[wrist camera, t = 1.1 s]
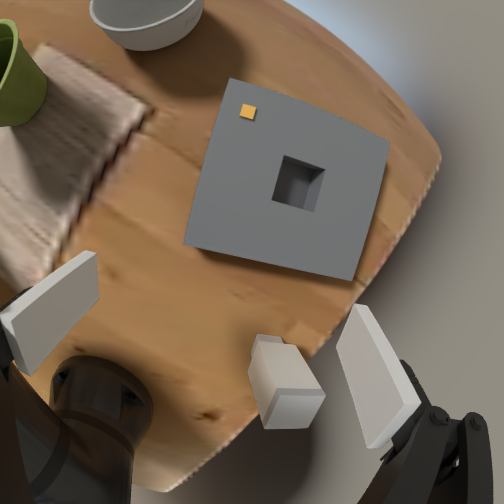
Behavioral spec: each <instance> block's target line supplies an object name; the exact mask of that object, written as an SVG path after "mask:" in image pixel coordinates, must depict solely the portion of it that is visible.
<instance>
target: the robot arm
mask: <svg viewBox="0 0 504 504" xmlns="http://www.w3.org/2000/svg"><path fill="white" fill-rule="evenodd" d="M98 300H99V291H98V274H97V253H94V252H90V251H86V250H85V251H83V252H82V253H80V254H79V255H77V256H76V257H74V258H73V259H71V260H70V261H68V262H67V263H66V264H64V265H63V266H61V267H60V268H58V269H57V270H55V271H54V272H53V273H51V274H50V275H48V276H47V277H46V278H44V279H43V280H42V281H40V282H39V283H38V284H36V285H35V286H32V287H30V288H27V289H25V290H23V291H22V292H20V293H19V294H18V295H17V297H16V296H15V297H14V298H13V299H11V301H9V302H7V303H6V304H5V305H4V306H2V307H1V308H0V504H130V501H131V500H130V499H131V484H132V470H133V459H134V452H135V450H136V448H137V447H138V445H139V444H140V442H141V440H142V439H143V437H144V436H145V434H146V433H147V431H148V429H149V427H150V425H151V422H152V414H153V403H152V400H151V397H150V395H149V393H148V391H147V390H146V388H145V387H144V386H143V385H142V383H141V382H140V381H139V380H138V379H137V378H136V377H134V376H133V375H132V374H131V373H129V372H128V371H126V370H125V369H123V368H122V367H120V366H118V365H116V364H114V363H112V362H110V361H107V360H104V359H101V358H97V357H92V356H75V357H71V358H68V359H66V360H65V361H63V362H62V363H61V364H60V365H59V367H58V368H57V370H56V372H55V373H54V375H53V377H52V380H51V386H50V399H49V406H48V405H47V404H46V403H45V402H44V400H43V399H42V398H41V397H40V396H39V395H38V394H37V392H36V391H35V390H34V389H33V388H32V387H31V385H30V384H29V383H28V382H27V380H26V379H25V378H24V377H23V375H22V374H21V373H20V371H22V372H23V373H25V374H27V375H28V376H30V377H31V376H32V375H33V373H34V372H35V371H36V370H37V368H38V367H39V366H40V365H41V364H42V362H43V361H44V360H45V359H46V358H47V356H48V355H49V354H50V353H51V352H52V351H53V349H54V348H55V347H56V346H57V345H58V344H59V342H60V341H61V340H62V339H63V338H64V337H65V336H66V335H67V333H68V332H69V331H70V330H71V329H72V328H73V327H74V326H75V325H76V323H77V322H78V321H79V320H80V319H81V318H82V317H83V316H84V315H85V314H86V313H87V312H88V311H89V310H90V308H91V307H92V306H93V305H94V304H95V303H96V302H97V301H98ZM336 349H337V352H338V354H339V358H340V361H341V364H342V367H343V370H344V373H345V376H346V379H347V383H348V386H349V389H350V392H351V396H352V399H353V402H354V405H355V409H356V412H357V416H358V419H359V422H360V426H361V429H362V433H363V436H364V440H365V443H366V448H367V449H371V448H381V447H384V446H385V445H386V444H387V442H388V441H389V440H390V439H392V442H393V445H394V446H393V447H392V448H391V449H390V450H389V451H388V452H387V453H386V454H385V455H384V456H383V457H382V458H381V459H380V460H381V461H382V460H383V459H384V458H385V459H384V461H383V463H382V465H381V466H380V468H379V470H378V472H377V473H376V475H375V477H374V478H373V480H372V482H371V483H370V485H369V487H368V488H367V490H366V491H365V493H364V494H363V496H362V498H361V499H360V500H359V502H358V503H357V504H493V474H492V473H493V471H492V459H491V450H490V441H489V434H488V428H487V424H486V421H485V420H484V418H483V417H482V416H481V415H480V414H477V413H475V412H470V413H467V415H466V416H465V417H464V418H463V420H455V419H450V417H449V415H448V414H447V412H446V411H445V410H443V409H442V408H440V407H437V406H432V405H431V403H430V402H429V400H428V398H427V396H426V394H425V392H424V391H423V388H422V387H421V385H420V384H419V381H418V379H417V378H416V377H415V374H414V372H413V370H412V369H411V367H410V366H409V365H408V364H407V363H406V362H405V361H404V360H399V359H398V358H397V356H396V354H395V353H394V351H393V349H392V347H391V345H390V343H389V342H388V340H387V338H386V337H385V335H384V333H383V331H382V330H381V328H380V326H379V325H378V323H377V321H376V320H375V318H374V316H373V315H372V313H371V311H370V310H369V308H368V306H366V305H359V304H354V305H353V307H352V310H351V312H350V315H349V318H348V320H347V322H346V325H345V327H344V330H343V332H342V334H341V336H340V339H339V341H338V343H337V346H336ZM13 359H14V360H15V363H16V365H17V367H18V369H17V367H16V366H15V365H14V363H13V362H12V361H13ZM19 370H20V371H19ZM458 459H459V465H458V466H456V461H457V460H458Z"/></svg>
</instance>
